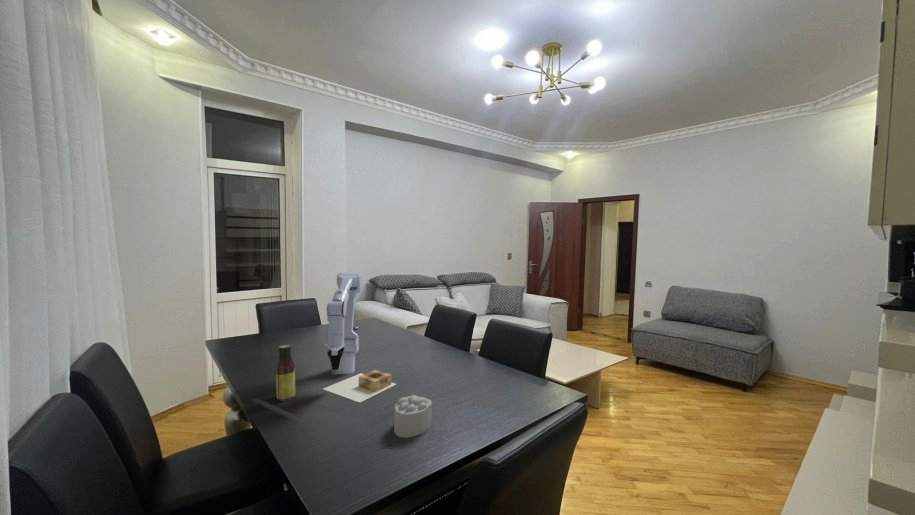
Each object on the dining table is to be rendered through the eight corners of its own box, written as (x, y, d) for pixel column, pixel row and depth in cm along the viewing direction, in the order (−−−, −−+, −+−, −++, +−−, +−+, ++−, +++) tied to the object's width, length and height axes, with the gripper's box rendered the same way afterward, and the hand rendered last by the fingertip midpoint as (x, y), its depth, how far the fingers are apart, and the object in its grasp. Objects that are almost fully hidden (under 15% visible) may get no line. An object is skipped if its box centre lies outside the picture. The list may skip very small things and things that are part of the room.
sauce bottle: (299, 398, 133) (299, 345, 132) (284, 405, 127) (285, 349, 126) (286, 394, 136) (286, 342, 134) (271, 401, 130) (272, 347, 129)
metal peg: (330, 373, 137) (330, 352, 137) (336, 371, 140) (336, 350, 139) (335, 375, 136) (335, 354, 135) (341, 372, 138) (341, 352, 138)
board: (322, 391, 139) (322, 388, 139) (360, 375, 156) (361, 373, 156) (359, 405, 129) (359, 402, 129) (396, 386, 146) (396, 384, 146)
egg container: (435, 421, 119) (435, 396, 119) (414, 441, 108) (415, 413, 107) (408, 414, 124) (409, 389, 123) (385, 432, 112) (386, 405, 111)
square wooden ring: (358, 386, 142) (358, 376, 142) (374, 379, 150) (375, 369, 150) (375, 392, 138) (375, 381, 137) (391, 384, 145) (391, 374, 145)
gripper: (327, 328, 143) (326, 362, 144) (322, 338, 129) (322, 375, 130) (345, 327, 145) (345, 361, 145) (343, 337, 131) (342, 374, 131)
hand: (335, 368), depth 138 cm, fingers closed on metal peg, 3 cm apart
